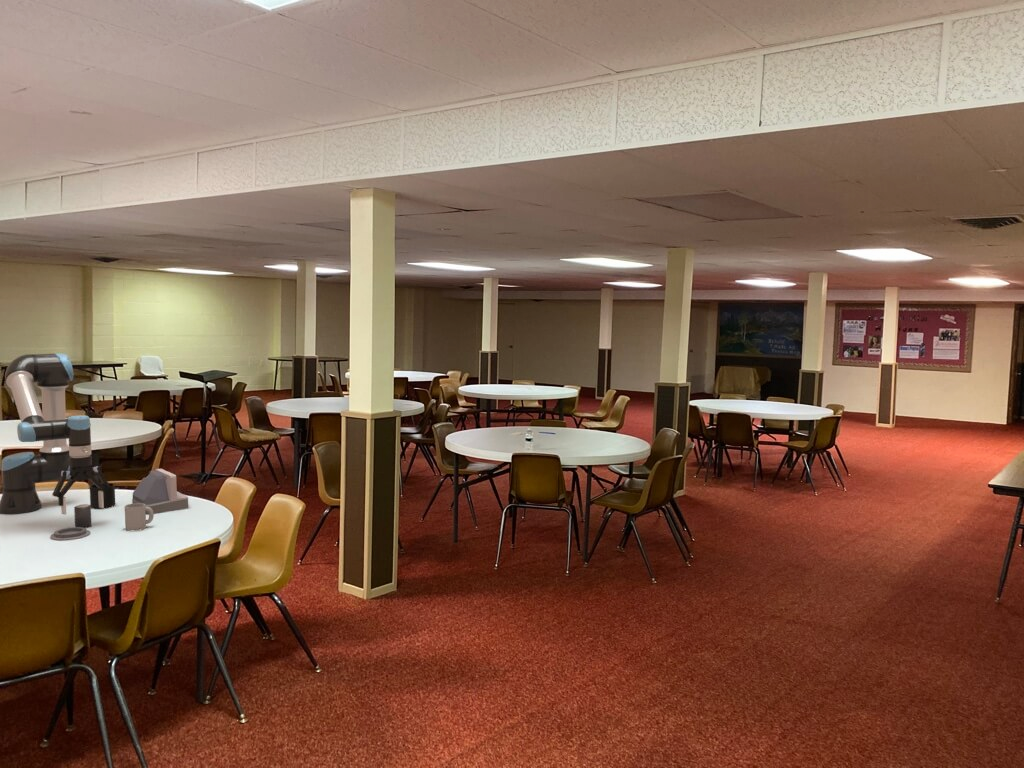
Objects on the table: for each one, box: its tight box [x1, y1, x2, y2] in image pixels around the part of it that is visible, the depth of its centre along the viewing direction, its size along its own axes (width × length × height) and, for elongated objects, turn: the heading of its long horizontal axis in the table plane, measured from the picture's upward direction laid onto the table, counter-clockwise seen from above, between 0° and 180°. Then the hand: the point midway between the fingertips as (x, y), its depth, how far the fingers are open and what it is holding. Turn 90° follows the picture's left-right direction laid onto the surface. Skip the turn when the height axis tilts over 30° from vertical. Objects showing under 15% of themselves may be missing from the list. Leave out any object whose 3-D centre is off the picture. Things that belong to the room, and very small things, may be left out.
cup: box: [124, 503, 155, 531], centre depth 309 cm, size 7×10×9 cm
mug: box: [89, 482, 116, 510], centre depth 340 cm, size 9×12×9 cm
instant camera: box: [131, 468, 189, 516], centre depth 340 cm, size 21×21×15 cm
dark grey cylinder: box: [73, 503, 92, 529], centre depth 309 cm, size 6×6×8 cm
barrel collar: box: [49, 526, 91, 541], centre depth 298 cm, size 13×13×2 cm
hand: (82, 510), depth 309 cm, fingers open, 13 cm apart
